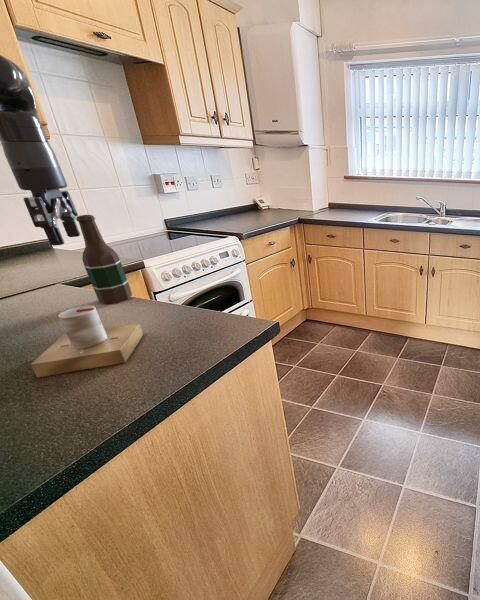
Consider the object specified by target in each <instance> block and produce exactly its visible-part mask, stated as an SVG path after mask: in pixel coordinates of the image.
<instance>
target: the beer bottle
mask: <svg viewBox="0 0 480 600" xmlns="http://www.w3.org/2000/svg"><path fill="white" fill-rule="evenodd" d="M75 217H76V220H75V222H76V221H77V222H78V224H79V227H80V232H81V234H82V237H83V240H84V246H85V247H84V249H83V252H82V256H81V257H82V258H81V259H82V263H83V266H84V269H85V271H86V274H87V277H88V278H89V281H90V283H91V286H92V288H93V291H94V293H95V295H96V298H97V301H98V302H99V303H102V304H104V305H109V304H118V303H121V302H125V301H127V300H129V299H130V298H131V297H132V296H133V293H132V289H131V286H130V283H129V281H128V278H127V276H126V273H125V270H124V267H123V264H122V261H121V259H120V257H119V255H118V253H117V252H116V251H115V250H114V249H113V248H112V247H110V246H109V245H108V244H107V243H106V241H105V240H104V238H103V236H102V233H101V232H100V229H99V227H98V225H97V223H96V221H95V220H96V218H95V216H94V215H92V214H81V215H78V216H75Z"/></svg>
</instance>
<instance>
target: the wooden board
mask: <svg viewBox="0 0 480 600" xmlns="http://www.w3.org/2000/svg"><path fill="white" fill-rule="evenodd" d="M104 330H105V332H106V334H107V339H106V340H105V341H104V342H102V343H100V344H98V345H95V346H92V347H88V348H82V349H76V348H73V347H72V345H71V343H70V340H69V338H68V336H67V334H66V333H64V334H62V335H61V336H59V338H58V339H56V340H55V341H54V342H53V343H52V344H51V345H50V346H49V347H48V348H47V349H46V350H44V352H42V353H41V354H40V355H39V356H38V357H37V358H36V359H34V361H33V362H31V363H30V366H31V368H32V370H33V372H34V374H35V376H36V377H37V378H42V377H49V376H54V375H61V374H66V373H71V372H77V371H83V370H90V369H95V368H100V367H107V366H113V365H117V364H118V365H119V364H124V363H126V362H127V361H128V359H129V358H130V356H131V355H132V353H133V352H134V350H135V349H136V347H137V346H138V344H139V342H140V341H141V340H142V338H143V336H144V333H143V330H142V327H141V325H140V323H134V324H127V325H120V326H114V327H107V328H104Z"/></svg>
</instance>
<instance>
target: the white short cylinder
mask: <svg viewBox="0 0 480 600" xmlns="http://www.w3.org/2000/svg"><path fill="white" fill-rule="evenodd" d="M57 317H58V319H59V321H60V323H61V326H62V327H63V330H64V331H65V334H67V336H68V338H69V340H70V343H71V345H72V347H73V348H76V349H82V348H88V347H92V346H95V345H98V344H100V343H102V342H104V341H105V340H106V339H107V334H106V332H105V330H104V329H105V327H104V325H103V323H102V320H101V318H100V316H99V313H98V310H97V308H96V306H94V305H81V306H77V307H73V308H69V309H67V310H66V309H65V310H63V311H61V312H60V313H59V314H58V315H57Z"/></svg>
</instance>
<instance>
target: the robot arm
mask: <svg viewBox="0 0 480 600" xmlns="http://www.w3.org/2000/svg"><path fill="white" fill-rule="evenodd" d="M0 144H1V147H2V151H3V154H4V157H5V159H6V161H7V163H8V166H9V168H10V170H11V172H12V174H13V177H14V179H15V181H16V184H17V186H18V189H20V190H22V191H30V192H31V196H28V197H27V196H25V197H23V202H24V204H25V208H26V209H27V211H28V215H29V217H30V219H31V221H32V224H33V226H34V227H35V228H40V229H43V231H44V233H45V235H46V237H47V240H48V242H49V245H51V246H53V247H54V246H62V245H64V244H65V240H64V238H63V235H62V233H61V230H60V228H59V226H58V219H60V220H61V224H62V226H63V227H64V228H63V229H64V231H65V233H66V235H67V237H69V238H77V237H78V238H79V237H80V236H81V233H80V232H81V231H80V230H79V227H78V225H77V223H76V217H77V216H79V213H78V211H77V209H76V206H75V204H74V202H73V200H72V196H71V195H70V192H69V191H68V190H61V189H65V188H67V187H68V184H67V181H66V178H65V176H64V174H63V170H62V168H61V165H60V163H59V160H58V158H57V155H56V153H55V151H54V149H53V148H52V145H51V144H50V142H49V139H48V136H47V134H46V131H45V129H44V126H43V124H42V122H41V120H40V117H39V114H38V109H37V103H36V99H35V95H34V91H33V88H32V86H31V84H30V81H29V79H28V76H27V75H26V73H25V72H24V70H23V69H22V68H21V67H20V66H19V65H18V64H16V63H15V62H13V61H12V60H10V59H8V58H7V57H5V56H3V55H1V54H0Z"/></svg>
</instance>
